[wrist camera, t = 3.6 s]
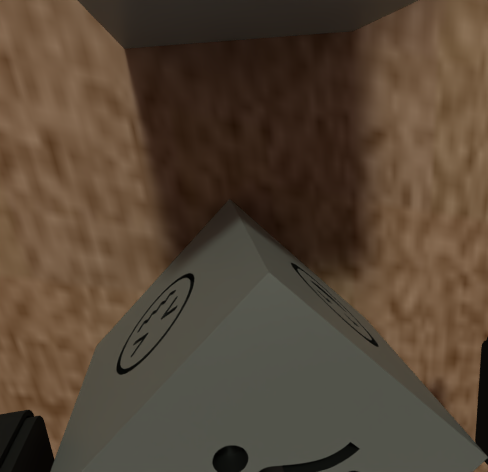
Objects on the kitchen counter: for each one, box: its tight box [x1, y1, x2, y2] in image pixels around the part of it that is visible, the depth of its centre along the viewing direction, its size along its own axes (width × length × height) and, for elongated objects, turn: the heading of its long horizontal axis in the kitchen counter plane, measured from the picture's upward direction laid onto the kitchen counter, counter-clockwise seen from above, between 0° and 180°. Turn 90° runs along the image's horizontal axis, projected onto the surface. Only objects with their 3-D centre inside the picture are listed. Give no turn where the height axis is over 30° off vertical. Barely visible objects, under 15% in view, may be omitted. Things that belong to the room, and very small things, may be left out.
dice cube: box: [50, 199, 488, 472], centre depth 9 cm, size 5×5×5 cm
